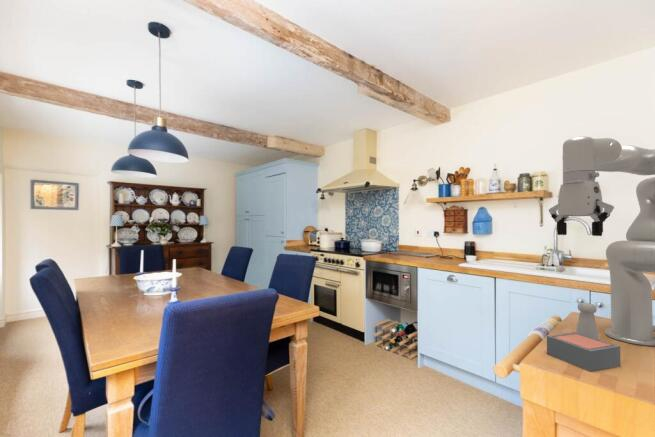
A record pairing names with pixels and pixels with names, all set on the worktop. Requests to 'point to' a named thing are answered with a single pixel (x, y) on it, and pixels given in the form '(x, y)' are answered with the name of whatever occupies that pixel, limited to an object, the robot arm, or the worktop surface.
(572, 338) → the pan
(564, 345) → the press housing
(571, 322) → the worktop surface
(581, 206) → the robot arm
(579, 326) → the grey bowling pin
